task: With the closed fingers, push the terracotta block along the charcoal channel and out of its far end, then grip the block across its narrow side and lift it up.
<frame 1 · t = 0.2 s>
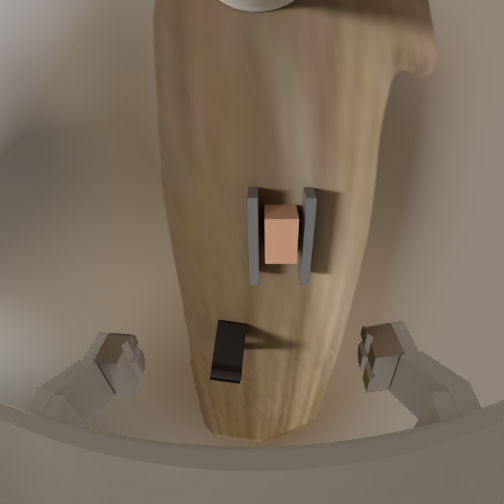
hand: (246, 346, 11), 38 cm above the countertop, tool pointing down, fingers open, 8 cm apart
block: (280, 226, 52), on the countertop
phone stand: (230, 334, 68), on the countertop
channel: (279, 231, 52), on the countertop
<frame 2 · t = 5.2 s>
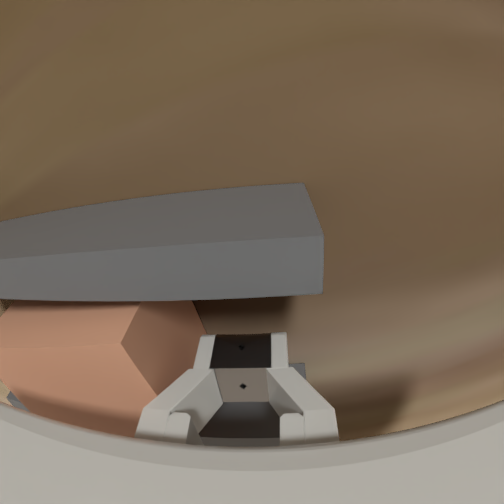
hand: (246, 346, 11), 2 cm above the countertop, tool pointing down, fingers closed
block: (113, 313, 13), on the countertop, touching gripper
channel: (121, 311, 13), on the countertop
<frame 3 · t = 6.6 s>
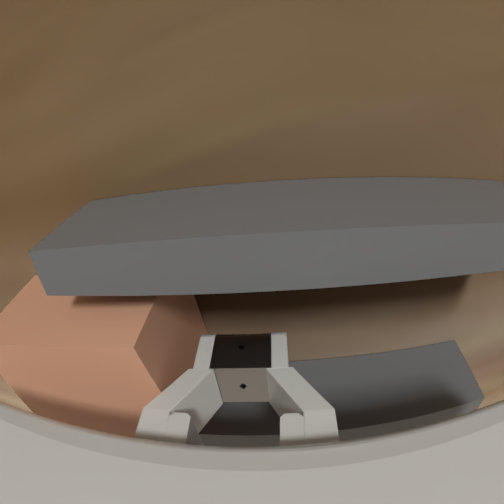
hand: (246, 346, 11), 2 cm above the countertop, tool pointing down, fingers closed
block: (116, 312, 13), on the countertop, touching gripper
channel: (309, 302, 12), on the countertop
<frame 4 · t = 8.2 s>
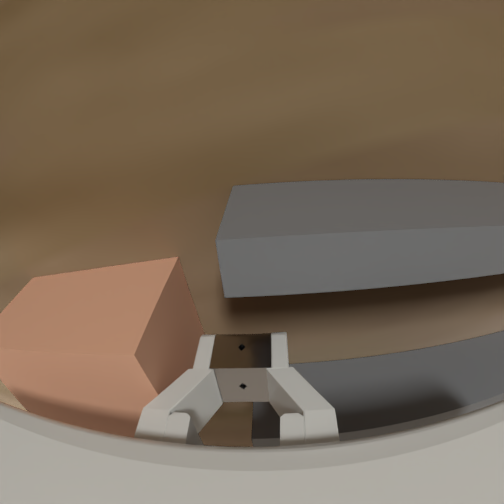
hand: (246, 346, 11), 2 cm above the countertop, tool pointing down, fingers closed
block: (114, 315, 13), on the countertop, touching gripper
channel: (432, 293, 12), on the countertop
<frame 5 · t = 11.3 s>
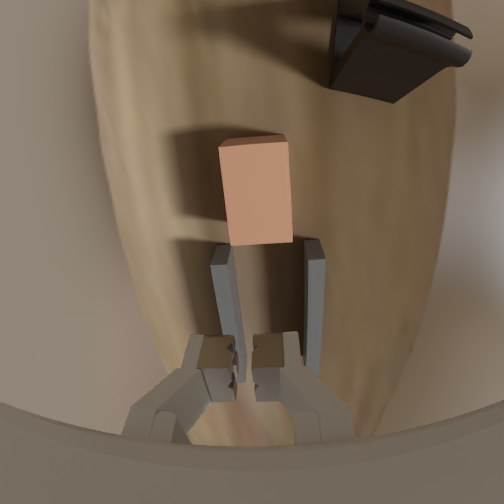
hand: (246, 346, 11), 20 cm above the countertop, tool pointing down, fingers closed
block: (258, 179, 28), on the countertop
phone stand: (366, 49, 22), on the countertop
channel: (272, 307, 34), on the countertop
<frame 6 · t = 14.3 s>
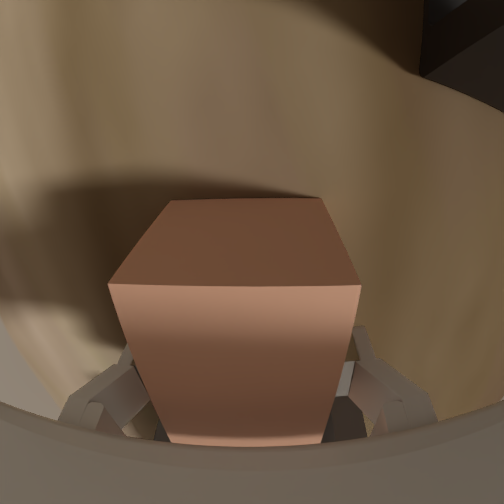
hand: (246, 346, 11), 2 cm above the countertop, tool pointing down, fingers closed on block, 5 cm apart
block: (248, 298, 12), on the countertop, touching gripper
phone stand: (486, 2, 6), on the countertop
channel: (267, 455, 19), on the countertop
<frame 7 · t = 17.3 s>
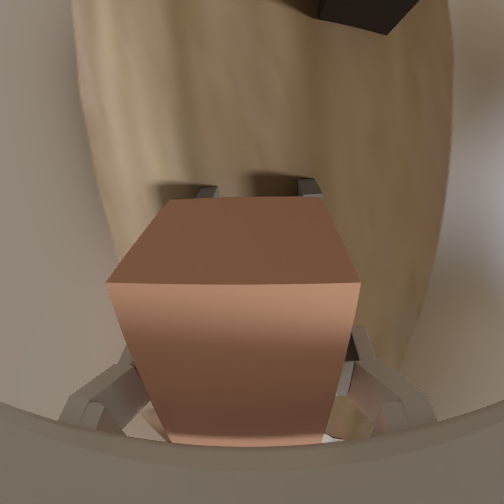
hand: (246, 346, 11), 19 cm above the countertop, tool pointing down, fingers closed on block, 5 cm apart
block: (248, 297, 12), point 17 cm above the countertop, touching gripper
channel: (264, 261, 31), on the countertop
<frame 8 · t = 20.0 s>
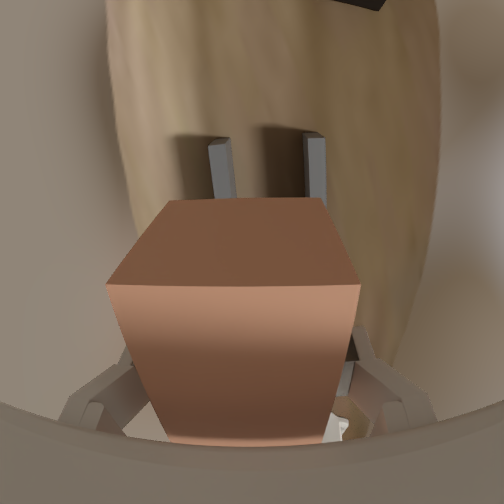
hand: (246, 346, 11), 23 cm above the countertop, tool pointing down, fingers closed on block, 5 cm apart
block: (248, 298, 12), point 21 cm above the countertop, touching gripper
channel: (272, 211, 33), on the countertop
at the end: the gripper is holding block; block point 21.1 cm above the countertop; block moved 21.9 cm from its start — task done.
